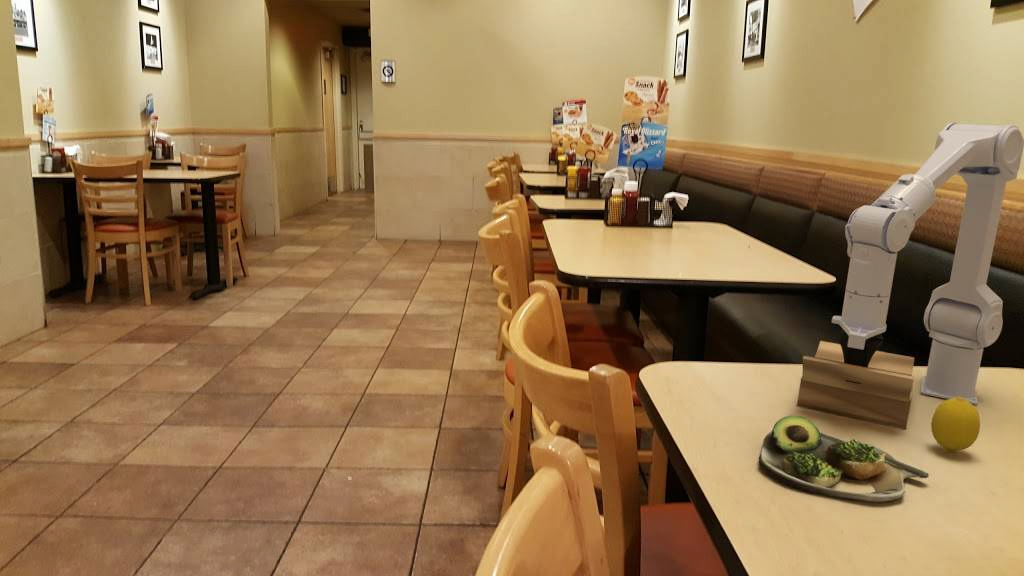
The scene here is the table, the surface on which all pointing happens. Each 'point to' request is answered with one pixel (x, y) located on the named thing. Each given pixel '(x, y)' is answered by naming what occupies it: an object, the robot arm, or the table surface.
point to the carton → (854, 404)
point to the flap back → (877, 361)
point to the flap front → (857, 378)
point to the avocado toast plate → (830, 462)
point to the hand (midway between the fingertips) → (853, 382)
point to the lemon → (955, 424)
